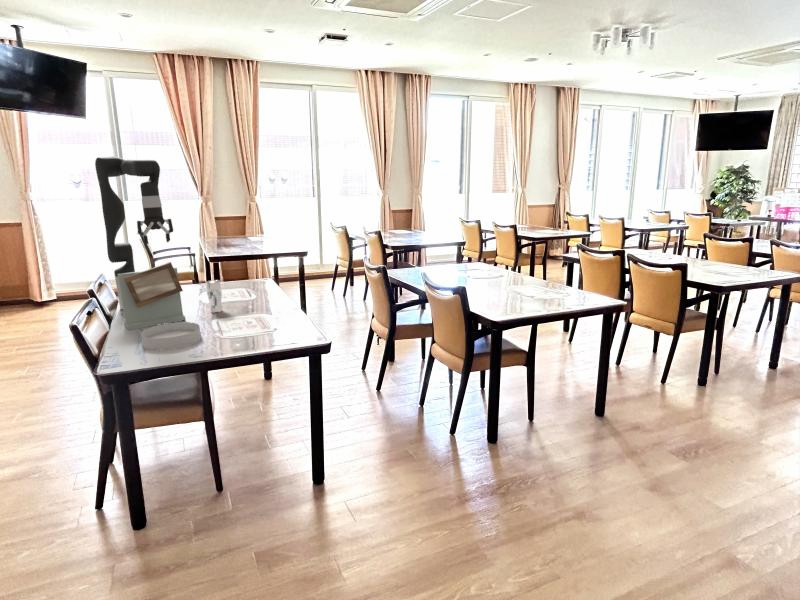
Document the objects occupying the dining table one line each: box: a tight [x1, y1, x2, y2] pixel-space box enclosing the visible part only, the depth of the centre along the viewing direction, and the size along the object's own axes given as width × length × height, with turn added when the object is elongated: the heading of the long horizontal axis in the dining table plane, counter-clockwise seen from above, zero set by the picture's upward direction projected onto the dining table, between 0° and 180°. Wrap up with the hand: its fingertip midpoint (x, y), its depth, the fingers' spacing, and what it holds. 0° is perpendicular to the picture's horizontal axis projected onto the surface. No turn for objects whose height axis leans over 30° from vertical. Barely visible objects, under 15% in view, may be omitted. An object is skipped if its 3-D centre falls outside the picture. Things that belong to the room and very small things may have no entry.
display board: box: [118, 266, 187, 331], centre depth 232 cm, size 12×24×24 cm, turn 124°
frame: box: [124, 261, 184, 308], centre depth 228 cm, size 2×20×14 cm, turn 124°
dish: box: [140, 321, 202, 350], centre depth 207 cm, size 22×22×5 cm
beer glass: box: [205, 279, 224, 314], centre depth 250 cm, size 7×7×15 cm
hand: (157, 243), depth 230 cm, fingers open, 8 cm apart
